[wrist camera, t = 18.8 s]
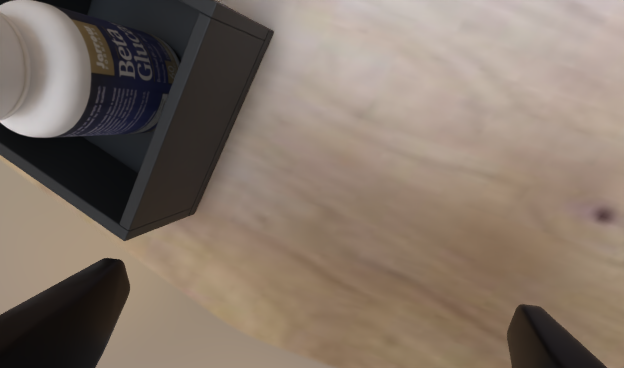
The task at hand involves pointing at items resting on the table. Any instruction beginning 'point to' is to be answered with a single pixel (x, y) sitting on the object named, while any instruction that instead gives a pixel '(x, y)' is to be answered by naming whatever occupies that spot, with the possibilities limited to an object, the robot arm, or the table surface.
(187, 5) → the storage bin
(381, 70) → the table surface
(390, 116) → the table surface
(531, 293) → the table surface
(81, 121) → the pill bottle
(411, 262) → the table surface
